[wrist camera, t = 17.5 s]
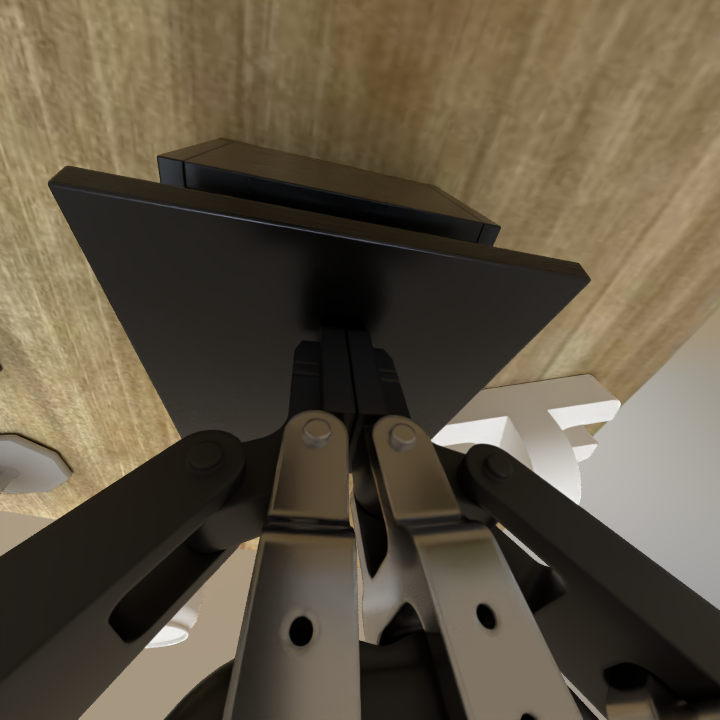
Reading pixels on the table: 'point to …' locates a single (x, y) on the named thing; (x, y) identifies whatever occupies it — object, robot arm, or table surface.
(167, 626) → the beverage can
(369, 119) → the table surface
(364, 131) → the table surface
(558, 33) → the table surface
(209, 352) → the lid
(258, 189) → the metal box
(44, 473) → the wineglass
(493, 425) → the white slotted bracket
